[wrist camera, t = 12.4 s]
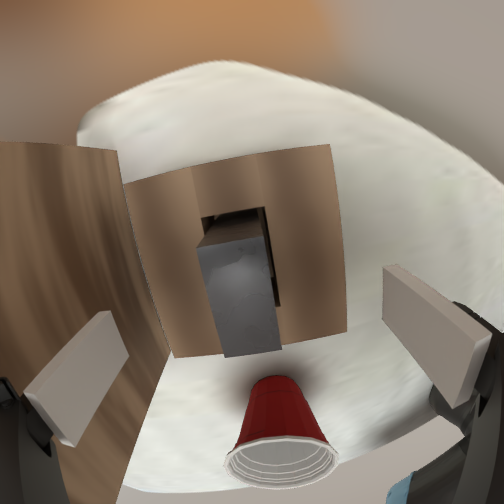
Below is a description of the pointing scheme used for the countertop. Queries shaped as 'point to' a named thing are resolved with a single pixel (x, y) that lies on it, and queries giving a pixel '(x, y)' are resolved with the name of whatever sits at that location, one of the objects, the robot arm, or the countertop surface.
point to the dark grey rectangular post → (239, 284)
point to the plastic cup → (280, 440)
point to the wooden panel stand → (150, 272)
